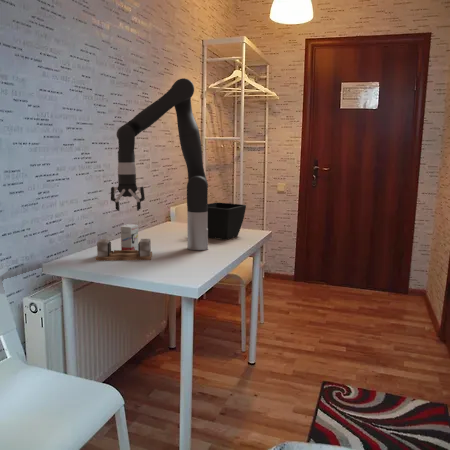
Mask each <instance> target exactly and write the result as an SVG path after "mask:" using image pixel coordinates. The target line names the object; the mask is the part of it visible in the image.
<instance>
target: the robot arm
mask: <svg viewBox="0 0 450 450" xmlns="http://www.w3.org/2000/svg"><path fill="white" fill-rule="evenodd" d="M194 93H195V86H194V83H193V81H191V80H190V79H188V78H179V79H177V80H175V82H174V83H173V84H172V86H171V88H170V89H168V91H166V93H164V94H163V95H162V96H161V97H160V98H158V99H156V100H154V102H152V103H151V104H149V105H148V106H146V107H145V108H144V109H143V110H141V111H139V113H137V114H136V115H134V117H132V118H131V119H130V120H129V121H128V122H126V123H124V124H123V125H121V126H120V127H118V129H117V130H116V138H117V140H118V141H117V142H118V151H117V162H118V163H117V179H118V180H117V183H118V185H117V186H111V187H110V201H111V202H114V203H115V210H116V211H117V212H120V210H121V209H120V200H121V199H122V197H123V198H126V197H129V198H131V197H133V198H134V200H136V211H139V212H140V210H141V208H142V207H141V205H142V202H143V201H145V196H146V195H145V187H144V186H143V185H142V186H137V169H136V160H135V159H136V157H135V155H136V154H135V145H136V137H137V136H138V135H139V134H140V133H141V132H144V131H145V130H148V128H149V127H151V126H153V124H154V123H156V122H157V121H159V120H160V118H162V117H163V116H164V115H165V114H166V113H168V112H169V111H170V110H171V109H173V108H174V109H175V113H176V124H177V130H178V139H179V145H180V149H181V152H182V157H183V158H184V161H185V165H186V169H187V171H186V172H187V178H188V179H187V184H186V206H187V208H186V209H187V213H186V214H187V218H186V221H187V222H186V223H187V228H186V229H187V231H186V232H187V240H186V241H187V242H186V243H187V244H186V245H187V249H188V250H189V251H205V250H208V249H209V237H208V204H209V203H208V197H209V196H208V195H209V194H208V188H209V183H208V180H207V177H206V176H207V175H206V173H205V168H204V165H203V163H204V162H203V149H202V140H201V135H200V130H199V126H198V123H197V122H196V119H195V117H194V114H193V108H192V100H191V99H192V97H193V95H194ZM117 191H118V192H119V194H118V196H117V197H115V194H116V192H117ZM137 191H138V192H140V197H139V196H138V194H137Z"/></svg>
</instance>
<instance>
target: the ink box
mask: <svg viewBox="0 0 450 450" xmlns="http://www.w3.org/2000/svg"><path fill="white" fill-rule="evenodd" d="M120 244H121V245H120V246H121V247H120V250H138V244H139V225H138V224H133V223H127V224H124V225H121V226H120Z"/></svg>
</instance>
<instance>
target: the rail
mask: <svg viewBox="0 0 450 450" xmlns="http://www.w3.org/2000/svg"><path fill="white" fill-rule="evenodd" d="M151 248H152V247H151V238H140V240H139V241H138V250H121V249H113V250H112V242H111V239H110V238H99V240H98V241H97V242H96V249H97V250H96V251H97V252H96V253H97V254H96V256H95V261H96V260H99V261H100V262H103V261H104V260H105V261H151V260H152V258H153V251H151ZM99 261H98V262H99Z"/></svg>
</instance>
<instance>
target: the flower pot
mask: <svg viewBox="0 0 450 450" xmlns="http://www.w3.org/2000/svg"><path fill="white" fill-rule="evenodd" d="M246 208H247V205H246V204H242V203H241V204H240V203H232V202H231V203H228V202H219V201H218V202H212V203H208V239H211V238H212V239H216V240H217V239H218V240H224V241H226V240H230V239H232V238H235V237H238V236H239V233H240V231H241V228H242V225H243V222H244V219H245V214H246Z"/></svg>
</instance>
